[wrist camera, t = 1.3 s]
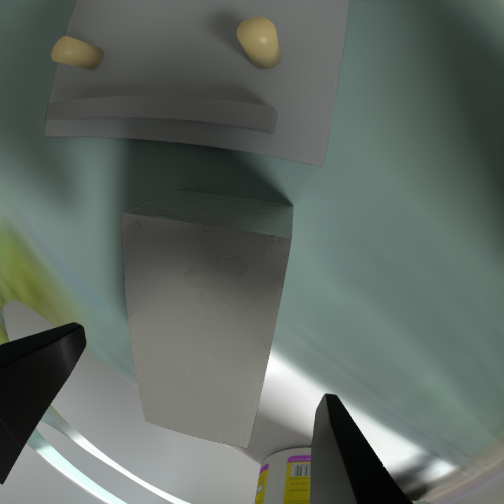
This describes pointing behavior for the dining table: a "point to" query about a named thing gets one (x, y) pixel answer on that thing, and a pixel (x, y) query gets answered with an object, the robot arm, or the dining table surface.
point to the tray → (202, 73)
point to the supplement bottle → (285, 478)
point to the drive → (204, 307)
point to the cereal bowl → (421, 502)
